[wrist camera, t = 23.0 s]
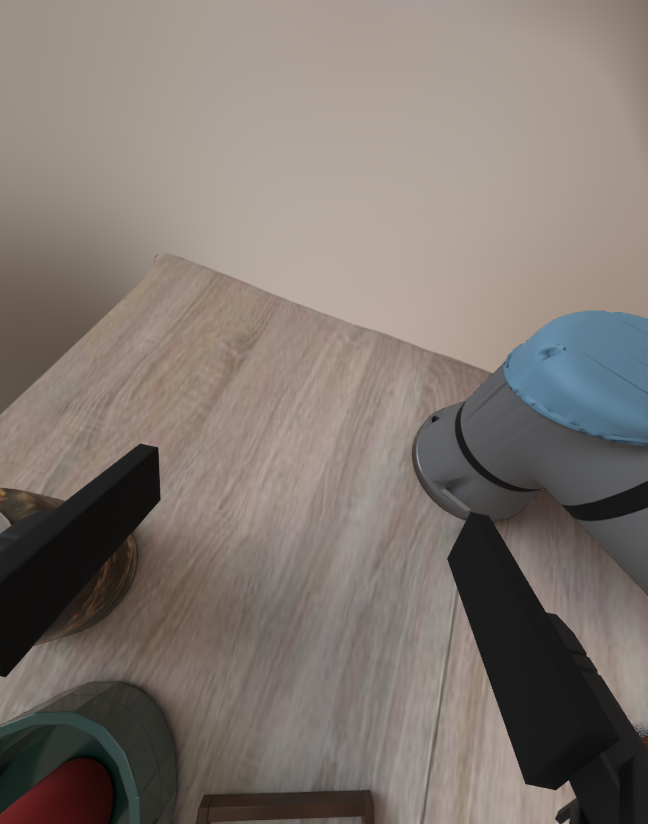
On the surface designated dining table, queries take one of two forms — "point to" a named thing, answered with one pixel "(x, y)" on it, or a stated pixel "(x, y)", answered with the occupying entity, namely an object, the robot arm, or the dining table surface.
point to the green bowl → (95, 748)
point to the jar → (100, 591)
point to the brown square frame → (286, 806)
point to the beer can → (66, 797)
